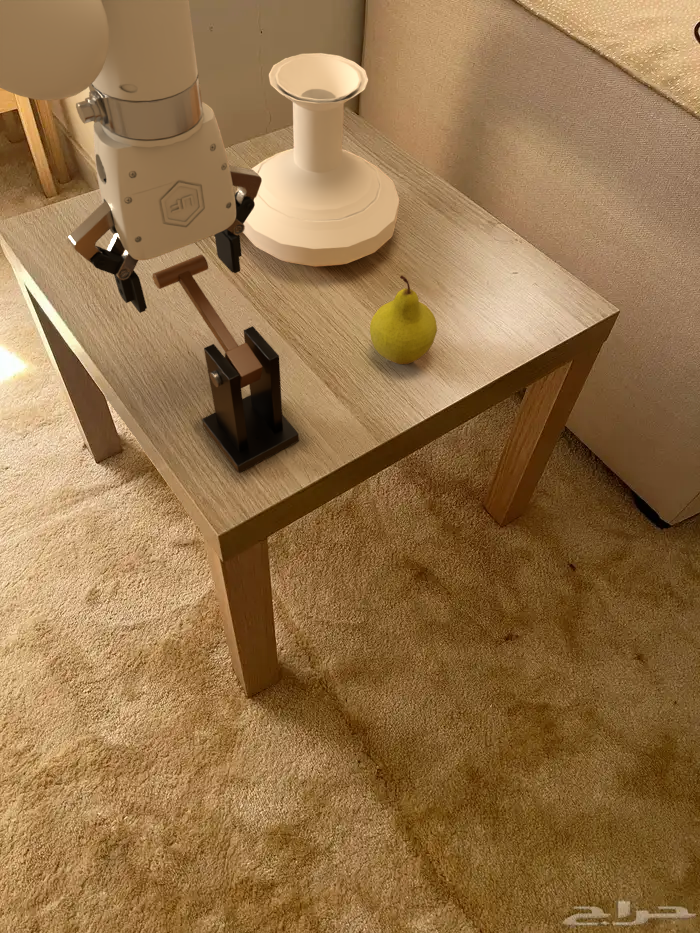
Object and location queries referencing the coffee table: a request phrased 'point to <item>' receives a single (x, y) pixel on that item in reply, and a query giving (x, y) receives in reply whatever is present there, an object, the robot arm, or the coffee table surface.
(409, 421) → the coffee table surface
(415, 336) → the fruit
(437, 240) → the coffee table surface
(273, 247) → the white vase
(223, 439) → the bracket
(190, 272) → the lever
